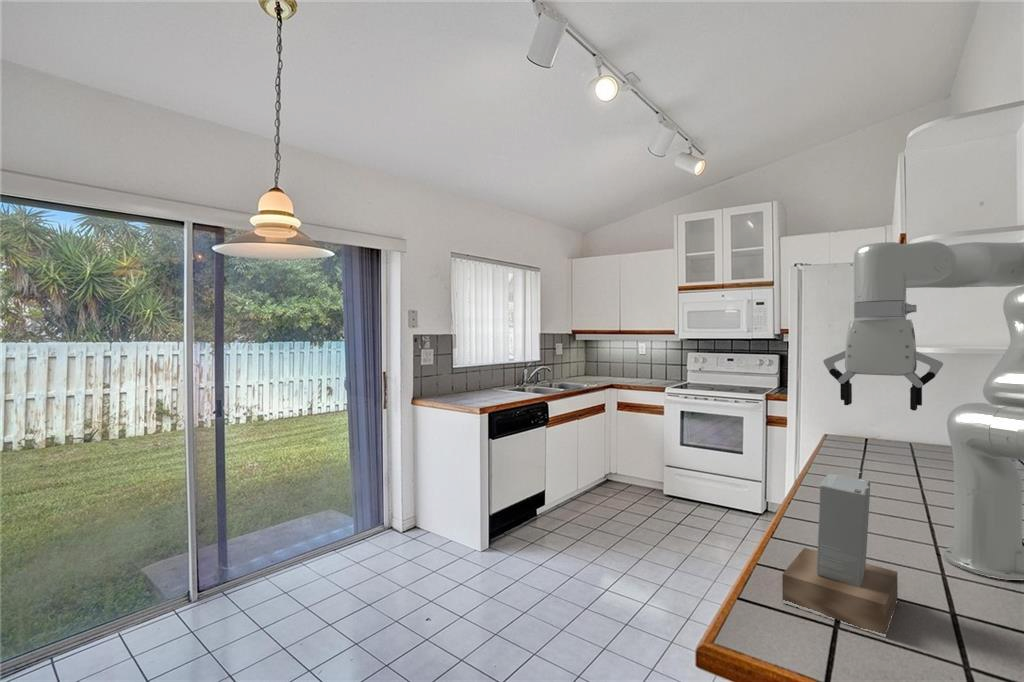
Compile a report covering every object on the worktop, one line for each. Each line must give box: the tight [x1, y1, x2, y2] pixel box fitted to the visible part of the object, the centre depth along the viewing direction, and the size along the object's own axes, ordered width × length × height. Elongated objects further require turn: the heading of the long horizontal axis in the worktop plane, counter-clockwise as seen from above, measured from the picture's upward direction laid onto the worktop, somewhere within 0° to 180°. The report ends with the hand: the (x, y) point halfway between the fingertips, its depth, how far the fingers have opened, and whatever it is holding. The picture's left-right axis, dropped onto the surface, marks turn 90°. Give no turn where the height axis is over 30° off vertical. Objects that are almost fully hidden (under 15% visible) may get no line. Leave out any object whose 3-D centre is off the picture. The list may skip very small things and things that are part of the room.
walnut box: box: [781, 547, 899, 634], centre depth 83 cm, size 14×14×5 cm
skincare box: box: [816, 473, 871, 587], centre depth 83 cm, size 8×7×16 cm
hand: (879, 406), depth 89 cm, fingers open, 9 cm apart
